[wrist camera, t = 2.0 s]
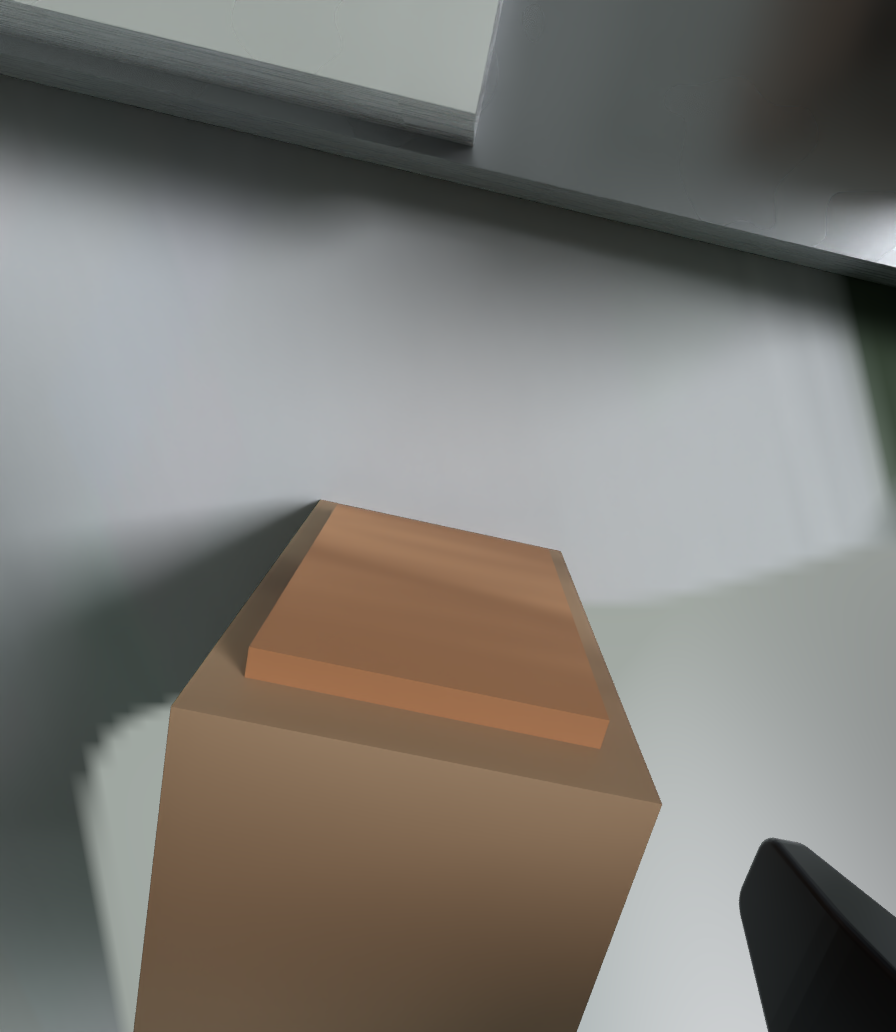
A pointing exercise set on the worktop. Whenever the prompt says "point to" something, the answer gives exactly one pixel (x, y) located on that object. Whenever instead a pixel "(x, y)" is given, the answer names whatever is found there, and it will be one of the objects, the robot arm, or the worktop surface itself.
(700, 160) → the grey base plate
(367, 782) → the tan wooden block
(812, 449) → the worktop surface
